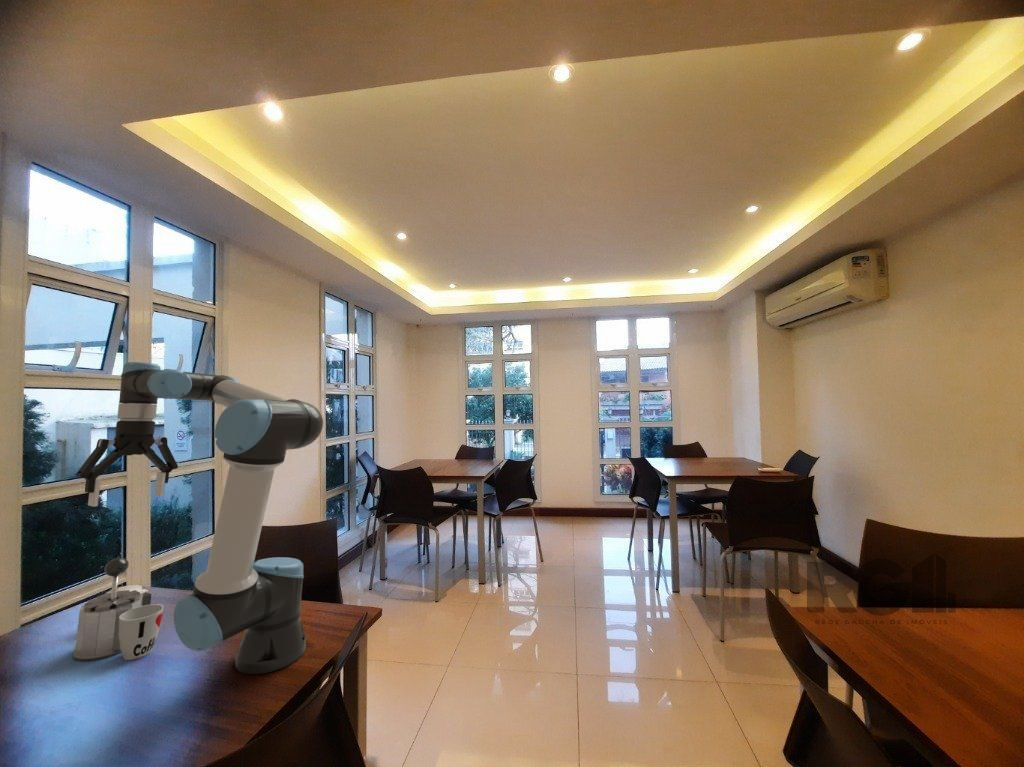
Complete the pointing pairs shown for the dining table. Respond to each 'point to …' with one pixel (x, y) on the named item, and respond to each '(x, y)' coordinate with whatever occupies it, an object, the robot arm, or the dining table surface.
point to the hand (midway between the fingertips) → (127, 500)
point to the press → (104, 624)
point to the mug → (131, 589)
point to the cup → (139, 630)
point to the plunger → (116, 573)
